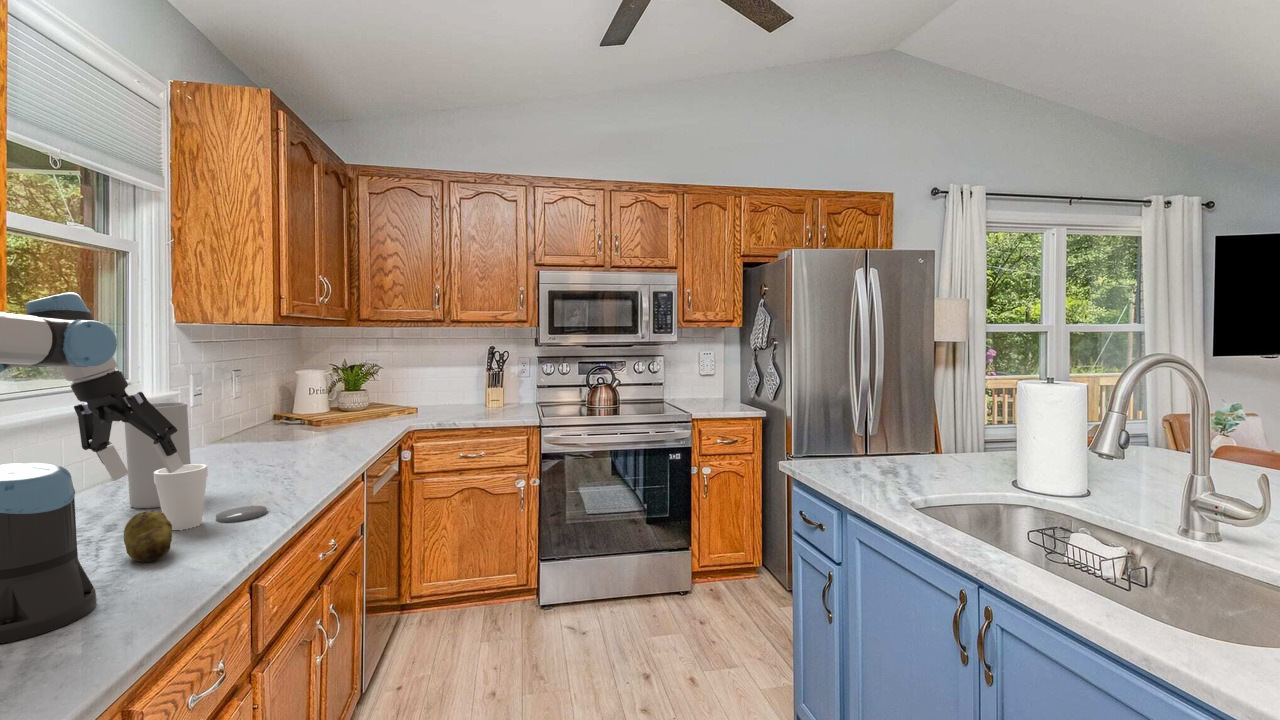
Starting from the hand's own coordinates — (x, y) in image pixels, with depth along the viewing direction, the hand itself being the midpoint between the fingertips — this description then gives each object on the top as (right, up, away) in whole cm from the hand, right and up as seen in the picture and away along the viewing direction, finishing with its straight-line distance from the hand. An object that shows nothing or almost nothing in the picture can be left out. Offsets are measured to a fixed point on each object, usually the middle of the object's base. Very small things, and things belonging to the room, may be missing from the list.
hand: (148, 473), depth 117 cm
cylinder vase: (-25, -14, +35) cm, 45 cm away
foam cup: (-5, -15, +16) cm, 22 cm away
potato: (+2, -16, -2) cm, 16 cm away
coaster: (+3, -14, +23) cm, 27 cm away
